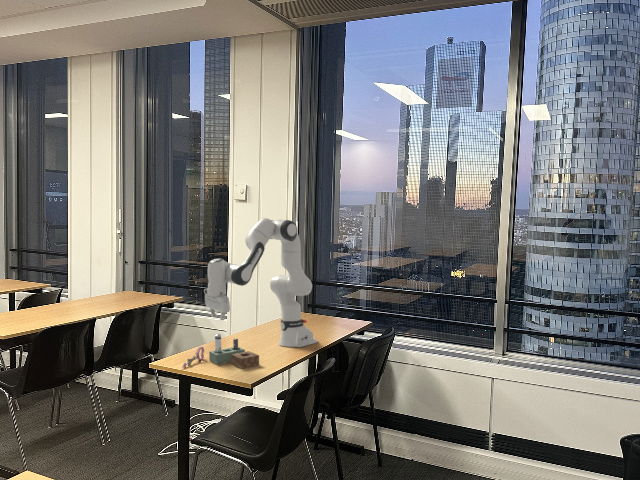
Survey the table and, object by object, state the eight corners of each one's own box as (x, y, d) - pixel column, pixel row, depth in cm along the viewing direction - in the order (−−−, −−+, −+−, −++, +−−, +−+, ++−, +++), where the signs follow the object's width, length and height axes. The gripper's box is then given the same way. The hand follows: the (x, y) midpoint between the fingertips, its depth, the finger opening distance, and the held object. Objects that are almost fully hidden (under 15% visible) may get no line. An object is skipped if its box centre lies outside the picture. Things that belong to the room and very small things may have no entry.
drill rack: (237, 355, 286) (237, 346, 286) (244, 359, 280) (244, 349, 279) (209, 361, 276) (209, 351, 276) (216, 364, 270) (216, 354, 270)
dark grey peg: (236, 357, 283) (236, 338, 282) (239, 358, 281) (238, 339, 280) (232, 358, 281) (232, 339, 281) (235, 359, 279) (234, 340, 279)
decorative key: (181, 374, 264) (202, 357, 282) (183, 375, 263) (204, 357, 282) (179, 361, 262) (201, 345, 280) (182, 362, 262) (203, 345, 280)
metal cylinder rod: (219, 360, 277) (219, 333, 276) (222, 361, 275) (222, 334, 274) (214, 361, 275) (213, 334, 274) (217, 363, 273) (216, 335, 272)
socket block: (248, 360, 277) (248, 351, 276) (259, 365, 269) (259, 355, 268) (231, 364, 270) (231, 354, 270) (241, 369, 263) (241, 358, 262)
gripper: (232, 293, 266) (233, 321, 267) (213, 288, 282) (214, 314, 284) (221, 294, 262) (221, 323, 264) (202, 289, 279) (203, 316, 280)
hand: (217, 318), depth 274 cm, fingers open, 8 cm apart
